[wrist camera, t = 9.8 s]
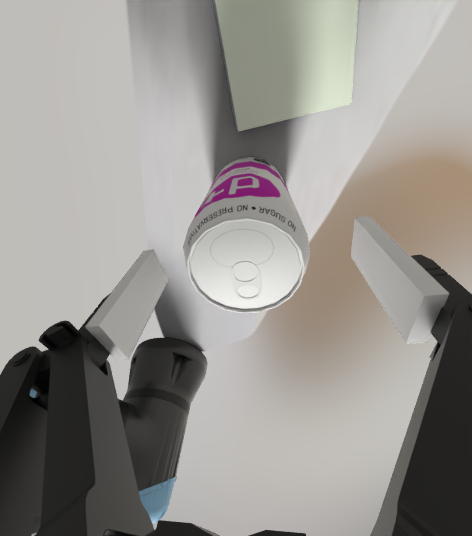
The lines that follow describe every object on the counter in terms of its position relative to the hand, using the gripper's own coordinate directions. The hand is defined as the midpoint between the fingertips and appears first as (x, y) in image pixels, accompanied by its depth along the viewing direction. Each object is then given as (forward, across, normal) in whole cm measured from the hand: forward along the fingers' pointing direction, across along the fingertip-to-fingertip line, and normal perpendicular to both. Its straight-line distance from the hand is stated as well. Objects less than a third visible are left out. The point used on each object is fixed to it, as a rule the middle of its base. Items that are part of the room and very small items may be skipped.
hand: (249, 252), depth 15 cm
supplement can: (+13, 0, 0) cm, 13 cm away
